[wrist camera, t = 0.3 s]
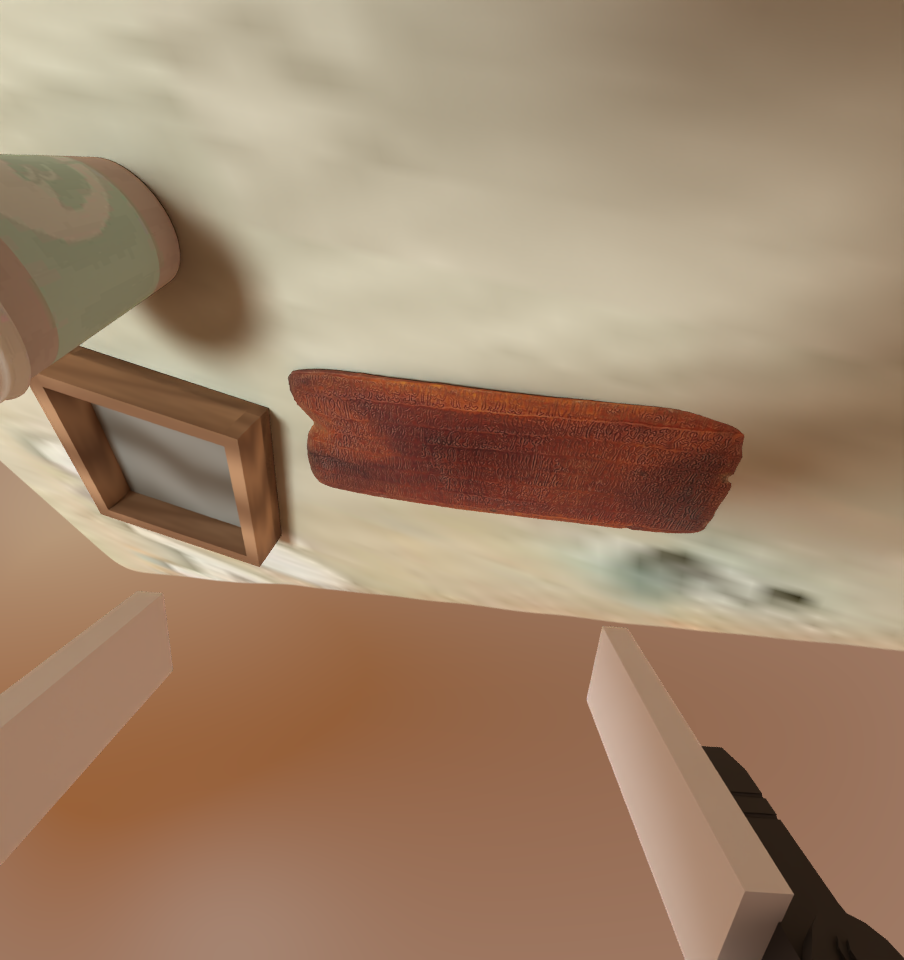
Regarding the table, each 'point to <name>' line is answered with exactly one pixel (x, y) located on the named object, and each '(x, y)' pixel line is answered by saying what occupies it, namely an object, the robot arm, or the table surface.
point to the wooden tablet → (517, 452)
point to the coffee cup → (72, 256)
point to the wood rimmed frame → (166, 452)
